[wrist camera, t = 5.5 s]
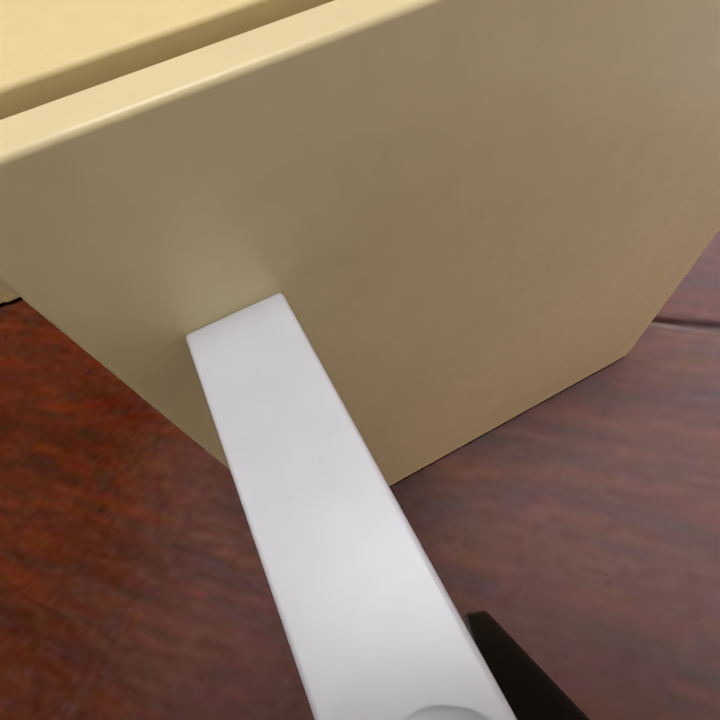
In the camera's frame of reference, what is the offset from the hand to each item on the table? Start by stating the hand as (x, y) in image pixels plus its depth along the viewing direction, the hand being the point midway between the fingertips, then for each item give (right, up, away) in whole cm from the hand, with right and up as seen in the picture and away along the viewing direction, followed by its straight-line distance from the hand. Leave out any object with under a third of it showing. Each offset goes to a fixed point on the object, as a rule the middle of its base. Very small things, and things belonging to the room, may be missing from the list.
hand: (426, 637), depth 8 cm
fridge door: (+5, 0, +8) cm, 9 cm away
